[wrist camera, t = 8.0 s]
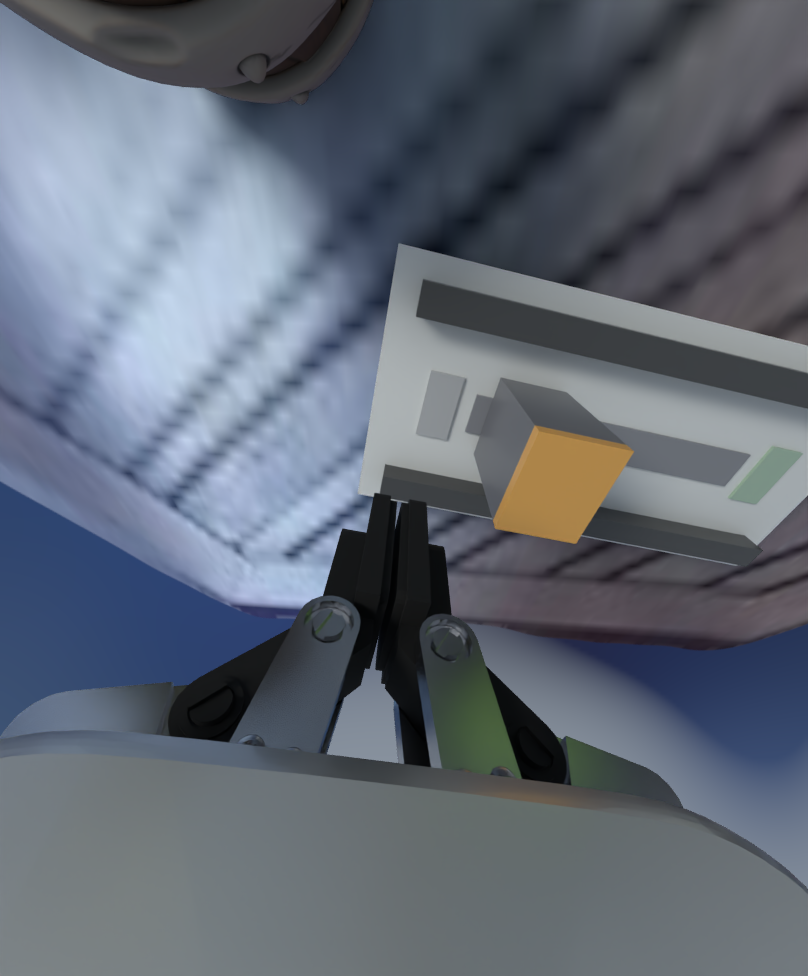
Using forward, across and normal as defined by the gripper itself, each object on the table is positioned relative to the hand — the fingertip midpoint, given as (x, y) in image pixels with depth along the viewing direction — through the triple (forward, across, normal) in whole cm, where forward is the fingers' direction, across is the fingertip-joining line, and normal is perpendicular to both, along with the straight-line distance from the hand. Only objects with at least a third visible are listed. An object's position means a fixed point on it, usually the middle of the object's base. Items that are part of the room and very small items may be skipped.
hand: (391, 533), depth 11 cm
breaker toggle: (+12, -7, -1) cm, 14 cm away
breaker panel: (+15, -13, -1) cm, 20 cm away
